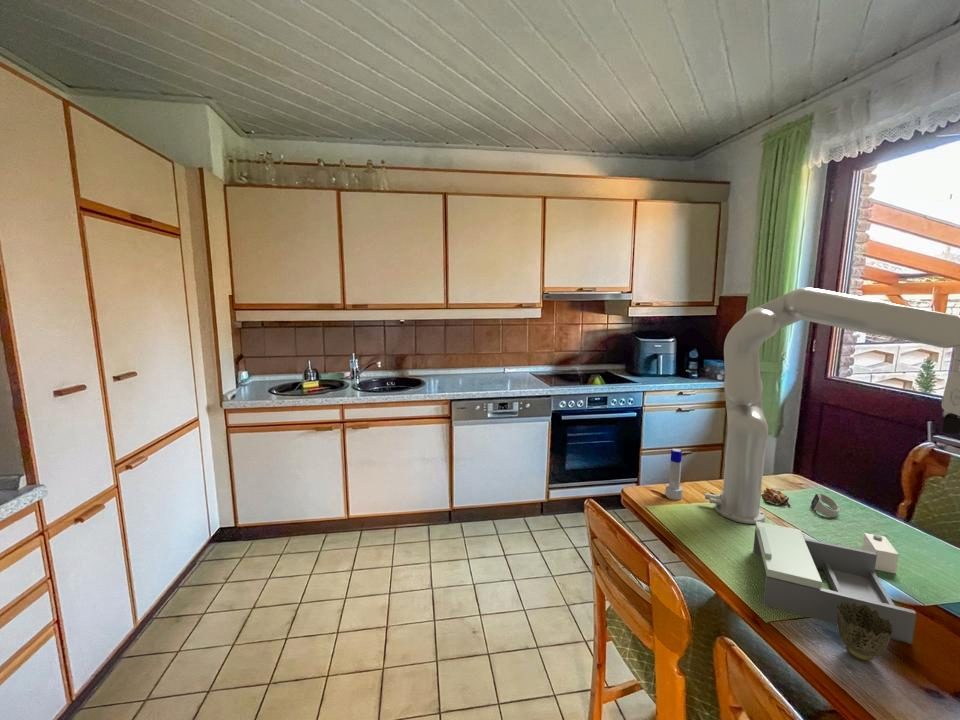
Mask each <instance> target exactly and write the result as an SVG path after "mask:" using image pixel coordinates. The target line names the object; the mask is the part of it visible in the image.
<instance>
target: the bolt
mask: <svg viewBox="0 0 960 720" xmlns="http://www.w3.org/2000/svg"><path fill="white" fill-rule="evenodd" d="M682 456H683V451H682V450H681V449H680V448H672V449H671V450H670V462H669V463H670V464H669V465H670V466H669V478H668V479H669V480H668V484H666V485H665V490H664V491H665V494H664V495H665V496H666V498H668V499H670V500H675V501H678V500H681V499H682V498H683V491H684V490H683V487H682V486H681V472H682V470H681V469H682Z"/></svg>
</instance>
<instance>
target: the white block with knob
mask: <svg viewBox="0 0 960 720" xmlns="http://www.w3.org/2000/svg"><path fill="white" fill-rule="evenodd" d="M861 546H862V547H861V550H865V551H870V552H875V553H876V554H877V558H876V565H875V571H876V570H877V571H882V572H887V573H892V574H895V573H897V568H898V561H899V555H900V554H899V553H898V551H897V550H896V549H895V547H894V546H893V545H892V544H891V543H890V541H889V540H888V538H887V537H886V536H884V535H878V534H873V533H867V532H863V540H862V545H861Z"/></svg>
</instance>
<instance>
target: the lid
mask: <svg viewBox="0 0 960 720" xmlns="http://www.w3.org/2000/svg"><path fill="white" fill-rule="evenodd" d="M755 528H756V532H757V536H758V540H759V545H760V549H761V553H762V555H761V558H762V561H763V565H764V569H765V575H767V576H768V577H772V578H776V579H780V580H785V581H789V582H793V583H797V584H801V585H805V586H809V587H814V588H818V589H821V588H822V586H823V580H822V578H821V576H820V573H819V571H818V568H816V566H815V564H814V561H813V559H812V557H811V554H810V552H809V550H808V547H807V545H806V542H805V540H804V538H805V537H804V536H803V532H802V530H801V529H797V528H793V527H787V526H781V525H776V524H771V523H767V522H757V521H756V524H755Z"/></svg>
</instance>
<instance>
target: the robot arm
mask: <svg viewBox="0 0 960 720" xmlns="http://www.w3.org/2000/svg"><path fill="white" fill-rule="evenodd" d="M799 321H806V322H811V323H815V324H820V325H825V326H831V327H835V328H839V329H845V330H849V331H853V332H858V333H863V334H868V335H877V336H884V337H890V338H895V339H899V340H904V341H909V342H913V343H918V344H923V345H928V346H932V347H937V348H941V349H942V348H943V349H952V348H954V352H953V353H954V354H953V360H952V368H951V371H950V373H949V375H948V378H947V380H946V383H945V387H944V391H943V396H941V408H942V410H943V411H942V417H943V418H942V424H941V430H940V431H941V433H943V434H953V435H958V434H960V315H956V314H951V313H945V312H939V311H934V310H929V309H924V308H918V307H911V306H909V305H908V306H907V305H901V304H896V303H892V302H888V301H886V300H881V299H877V298H876V299H875V298H871V297H867V296H866V297H864V296H860V295H859V296H858V295H853V294H850V293H849V294H848V293H843V292H836V291H833V290H828V289H827V290H826V289H821V288H814V287H799V288H796V289H794V290H792V291H789V292H787V293H785V294H783V295H781V296H779V297H776V298H775V299H772V300H770V301H768V302H765V303H763V304H760V305H759V306H756V307H754V308H752V309H749V311H747V312H746V313H745V314H744V315H743V317H742V318H741V319H739V320H738V321H737V322H736V323H735V324H734V325H733V326H732V327H731V329H730V330H729V331H728V333H727V335H726V337H725V340H724V344H723V360H724V374H725V376H724V381H723V385H724V386H723V387H724V388H723V389H724V396H725V397H724V398H725V405H726V406H725V407H726V415H727V416H726V417H727V437H726V445H725V447H726V448H725V457H724V458H725V459H724V460H725V462H724V472H723V484H722V491H720V493H717V494H713V493H708V492H705V493H704V500H707V501H709V503H710V504H715V510H716V512H717V513H718V514H719V515H721V516H723V517H724V518H726V519H729V520H731V521H733V522H738V523H741V524H748V525H749V524H752V525H754V524H755V525H756V521H757V522H762V523H764V522H765V520H766V513H765V512H764V511H763V510H762V509H761V508H760V507H761V498H762V496H761V495H762V488H763V487H762V486H763V477H764V476H763V475H764V465H765V455H766V448H767V442H768V438H769V426H768V422H767V419H766V417H765V414H764V408H763V407H764V406H763V398H762V397H763V396H762V395H763V392H764V385H763V381H762V376H761V365H760V348H761V346H762V345H763V343H764V342H765V341H767V340H768V339H770V338H772V337H774V336H775V334H776V333H777V332H778V330H781V329H783V328H786V327H788V326H791V325H793V324H795V323H798V322H799Z"/></svg>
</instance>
